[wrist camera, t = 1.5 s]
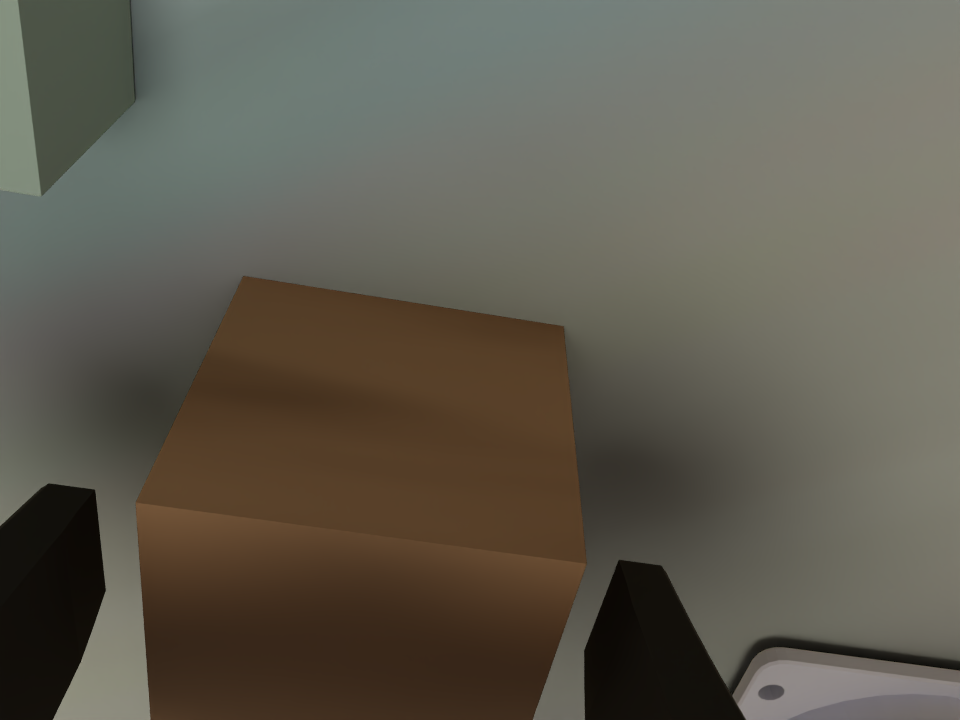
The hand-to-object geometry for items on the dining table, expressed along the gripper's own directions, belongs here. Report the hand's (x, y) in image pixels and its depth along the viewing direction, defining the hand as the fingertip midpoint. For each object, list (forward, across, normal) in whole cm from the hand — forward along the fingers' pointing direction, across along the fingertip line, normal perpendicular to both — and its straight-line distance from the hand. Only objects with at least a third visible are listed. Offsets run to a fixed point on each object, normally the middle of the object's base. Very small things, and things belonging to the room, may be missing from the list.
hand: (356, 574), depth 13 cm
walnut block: (+3, 0, 0) cm, 4 cm away
